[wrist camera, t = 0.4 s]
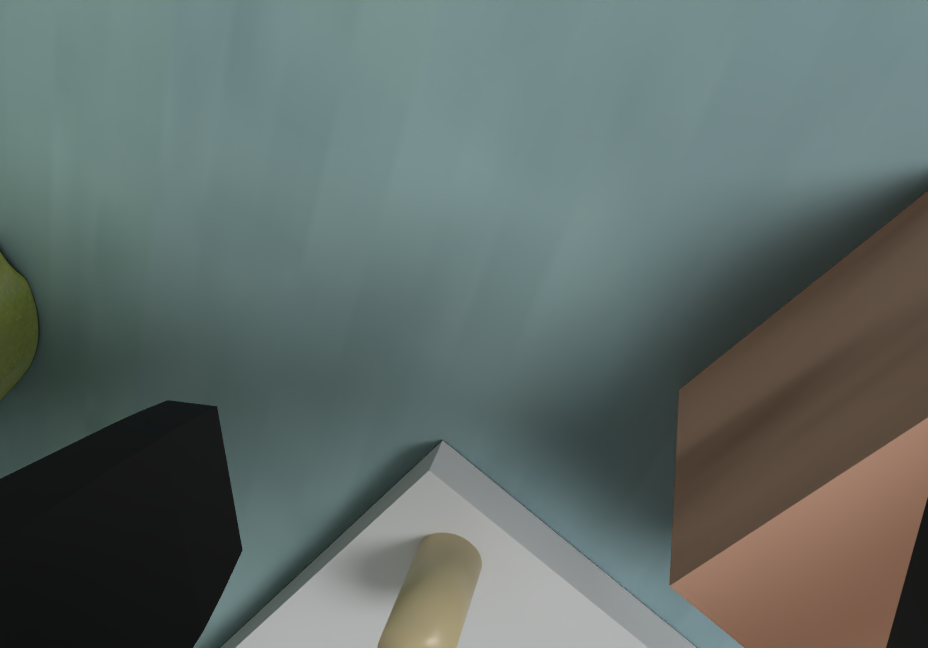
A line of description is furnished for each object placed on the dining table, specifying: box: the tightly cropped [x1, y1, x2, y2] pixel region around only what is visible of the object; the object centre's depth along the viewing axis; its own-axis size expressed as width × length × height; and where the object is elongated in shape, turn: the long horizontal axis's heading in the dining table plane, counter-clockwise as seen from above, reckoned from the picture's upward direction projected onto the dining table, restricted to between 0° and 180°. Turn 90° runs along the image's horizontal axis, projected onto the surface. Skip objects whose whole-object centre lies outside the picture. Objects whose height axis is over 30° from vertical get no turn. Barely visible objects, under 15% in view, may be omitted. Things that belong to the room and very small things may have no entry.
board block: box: [670, 191, 928, 648], centre depth 15 cm, size 4×7×6 cm, turn 141°
